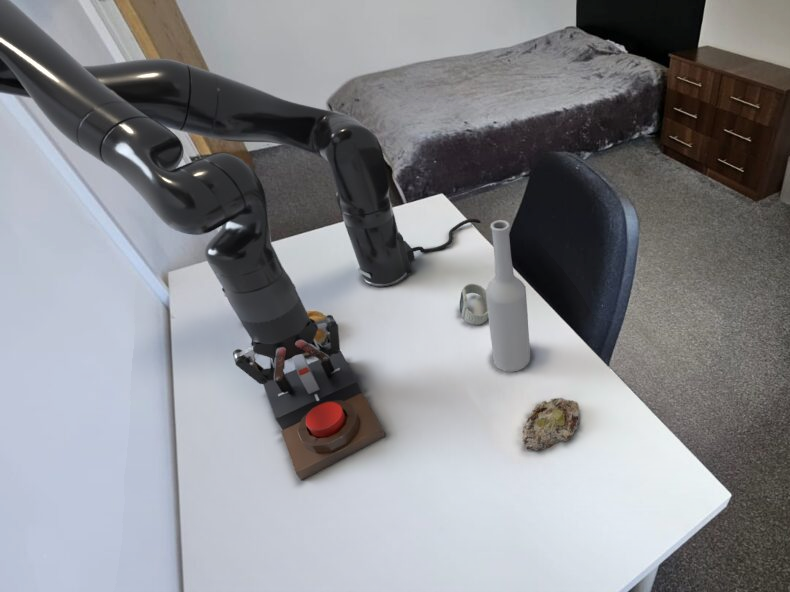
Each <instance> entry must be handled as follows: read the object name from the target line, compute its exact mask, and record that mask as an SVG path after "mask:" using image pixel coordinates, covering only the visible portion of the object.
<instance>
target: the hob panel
mask: <svg viewBox="0 0 790 592" xmlns="http://www.w3.org/2000/svg"><path fill="white" fill-rule="evenodd" d="M330 361H331V363H332V365H333V367H334V372H332V373H331V374H332V376H331V377H327V375H326V373H325V371H324V369H323V367H322V365H321V363H320V361H319V359H317V360H314V361H312V362H310V363H308V365H309V367H310V369H311V371H312V373H313V376H314V378H315V380H316V382H317V385H318V387H319V390H317V391H315V392H313V393H311V394H308V392H307V390H306V388H305V386H304V385H303V383H302V381H301V379H300V377H299V375H298V373H297V370H296V368H295V369H293V370H290V371H288V372H286V373H285V375H286V377H287V378H288V380H289V382H290V384H291V386H292V388H293V390H294V393H292V394H289V393H288V392H286V393H283V392H282V391H281V390H280V388H279V386H278V385H277V383H276V382H275V381H273V380H270V381H268V382H267V383H265V384H262V386H263V388H264V391H265V394H266V397H267V399H268V403H269V405H270V409H271V411H272V414H273V417H274V420H275V421H276V423H277V424H278V426H279V427H280V429H281V431H282V430H284V429H286V428H288V427H290V426H293V425H295V424H297V423H299V422H301V419H302V418H303V417H304V416H305V415H306V414H307V413H308V412H309V411H310V410H311V409H312V408H314V407H316V406H318V405H320V404H323V403H325V402H327V401H338V400H342V401H346V400H348V399H350V398H352V397H354V396H356V395H358V394H360V393H363V391H362V389H361V386H360V384H359V382H358V380H357V379H356V376H355V374H354V373H353V371H352V369H351V367H350V365H349V363H348V361H347V360H346V358H345V355H344V354H343V352H342V351H341V350H340V352H339V353H337V354H332V355H331V356H330Z"/></svg>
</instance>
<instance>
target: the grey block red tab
mask: <svg viewBox="0 0 790 592" xmlns="http://www.w3.org/2000/svg"><path fill="white" fill-rule="evenodd" d="M291 360H292V363H293V366H294V368H295V369H296V370H297V373H298V375H299V377H300V379H301V381H302V383H303V385H304V386H305V388H306V390H307V392H308V394H311V393H313V392H315V391H317V390H319V387H318V385H317V382H316V380H315V378H314V376H313V373H312V371H311V369H310V367H309V365H308V364H309V363H308V360H307V359H306V357H305V356H303V354H300V355H295V356H294V357H292V358H291Z"/></svg>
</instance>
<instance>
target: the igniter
mask: <svg viewBox="0 0 790 592" xmlns="http://www.w3.org/2000/svg"><path fill="white" fill-rule="evenodd" d="M327 402H334V403H337V404H339V405H340V406H341V408H342V410H343V412H344V414H345V416H346V422H345V424H344V426H343V427H342V429H341V430H340V431H338V432H337V433H336V434H334V435H332V436H329V437H324V438H319V437H316V436H314V435H313V434H312V433H311V431H310V430H309V428H308V426H307V425H306V417H307V415H308V413H309V412H310V411H311V410H312V409H313V408H312V409H311V410H310V411H309V412H308V413H307V414H306V415H305V416H304V417H303V418H302V419H301V422H299V423H297V424H295V425H293V426H290V427H288V428H286V429H284V430H282V429H281V431H280V433H281V436H282V439H283V442H284V444H285V447H286V450H287V453H288V456H289V459H290V462H291V464H292V467H293V470H294V474H295V475H296V476H297V478H298V479H299V480H300V481H303V480H305V479H307V478H308V477H311V476H312V475H314V474H316V473H318V472H320V471H322V470H324V469H326V468H328V467H330V466H331V465H333V464H335V463H337V462H339V461H340V460H343V459H344V458H347V457H348V456H350V455H352V454H354V453H357V452H358V451H360V450H362V449H364V448H366V447H367V446H369V445H371V444H373V443H376V441H379V440H381V439H382V438H384V437H386V434H385V432H384V429H383V427H382V426H381V424H380V422H379V420H378V418H377V416H376V414H375V412H374V410H373V408H372V407H371V405H370V403H369V401H368V400H367V397H366V395H365V394H364V392H362V393H360V394H358V395H356V396H354V397H352V398H350V399H348V400H346V401H342V400H338V401H327ZM327 402H325V403H327ZM314 408H315V407H314Z"/></svg>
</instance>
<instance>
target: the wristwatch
mask: <svg viewBox="0 0 790 592" xmlns="http://www.w3.org/2000/svg"><path fill="white" fill-rule="evenodd" d="M469 294H475V295H478V296H480V297H481V298H482V300H484V302H485V310H486V311H485V312H484V314H483V313H482V314H475V313H473V312H471V311H470V309H468V296H467V295H469ZM459 311H460V316H461V317H462V318H463V319H464V320H465V322H467V323H469V324H471V325H478V326H479V325H482V324H484V323H486V322H487V321H488V320H489V317H488V308H487V300H486V288H485V287H483V286H482V285H479V284H477V283H467V284H465V285H464V286H463V288H462V289H461V292H460V297H459Z"/></svg>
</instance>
